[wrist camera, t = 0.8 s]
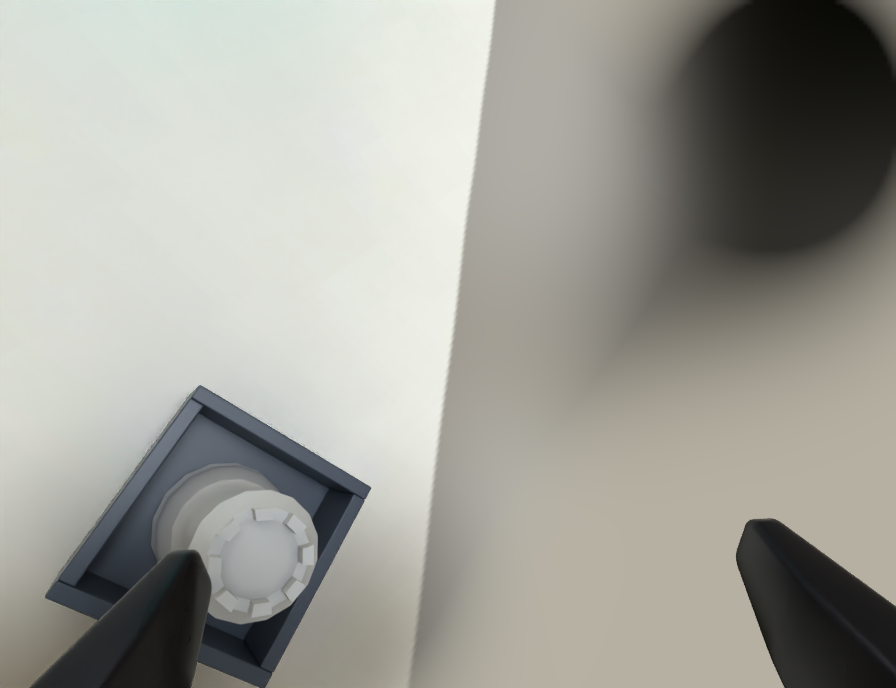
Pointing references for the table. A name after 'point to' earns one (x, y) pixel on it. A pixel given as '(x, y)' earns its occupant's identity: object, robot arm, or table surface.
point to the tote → (169, 459)
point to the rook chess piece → (239, 539)
